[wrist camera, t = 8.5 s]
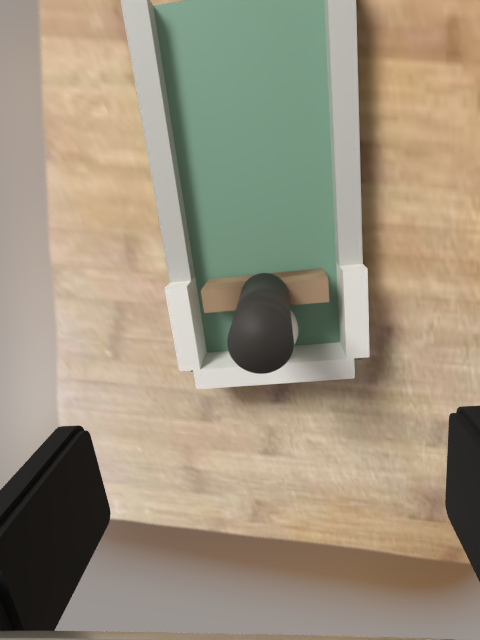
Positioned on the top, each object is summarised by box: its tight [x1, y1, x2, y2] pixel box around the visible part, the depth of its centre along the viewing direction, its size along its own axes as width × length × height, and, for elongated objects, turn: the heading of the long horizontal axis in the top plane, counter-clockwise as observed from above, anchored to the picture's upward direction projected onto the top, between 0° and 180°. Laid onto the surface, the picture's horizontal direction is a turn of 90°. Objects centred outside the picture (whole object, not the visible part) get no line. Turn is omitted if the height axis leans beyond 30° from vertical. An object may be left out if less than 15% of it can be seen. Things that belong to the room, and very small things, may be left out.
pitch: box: [121, 0, 370, 389], centre depth 27 cm, size 13×24×4 cm, turn 7°
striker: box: [201, 268, 329, 374], centre depth 24 cm, size 8×3×11 cm, turn 96°
